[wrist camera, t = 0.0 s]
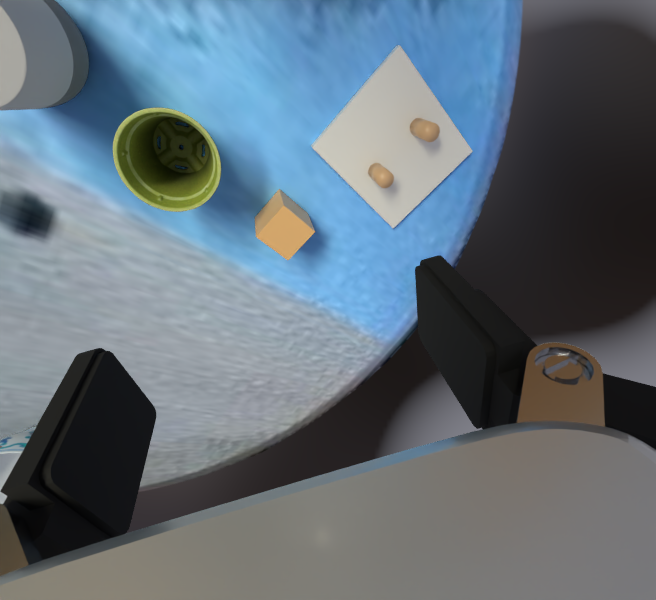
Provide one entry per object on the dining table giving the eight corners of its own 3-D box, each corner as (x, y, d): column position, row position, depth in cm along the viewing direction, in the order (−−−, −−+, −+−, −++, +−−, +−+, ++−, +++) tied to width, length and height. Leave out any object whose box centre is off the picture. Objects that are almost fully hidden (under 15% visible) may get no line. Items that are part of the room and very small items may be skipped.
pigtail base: (310, 145, 43) (317, 155, 39) (396, 45, 39) (414, 44, 35) (390, 225, 51) (403, 240, 47) (468, 149, 47) (489, 158, 43)
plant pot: (132, 89, 37) (106, 97, 30) (226, 108, 39) (223, 119, 32) (139, 180, 42) (118, 205, 35) (223, 191, 44) (219, 217, 37)
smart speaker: (85, 121, 38) (17, 149, 26) (-25, 68, 34) (-162, 74, 22) (108, 24, 34) (39, 8, 22) (-14, -48, 30) (-172, -112, 18)
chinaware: (-33, 436, 58) (-66, 482, 52) (40, 396, 56) (14, 439, 50) (49, 473, 67) (29, 516, 60) (114, 440, 65) (100, 481, 59)
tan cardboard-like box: (254, 217, 47) (256, 236, 42) (279, 188, 45) (283, 205, 40) (283, 239, 49) (288, 260, 44) (307, 213, 48) (315, 231, 43)
